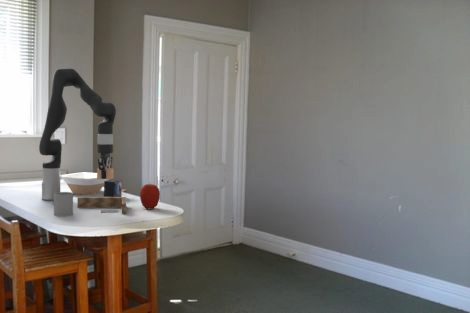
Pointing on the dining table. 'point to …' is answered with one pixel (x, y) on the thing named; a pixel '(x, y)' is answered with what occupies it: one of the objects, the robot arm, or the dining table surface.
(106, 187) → the small box
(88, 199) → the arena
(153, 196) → the apple
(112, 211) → the pad
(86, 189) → the bowl
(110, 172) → the block
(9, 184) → the dining table surface
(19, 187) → the dining table surface
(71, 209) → the cup
